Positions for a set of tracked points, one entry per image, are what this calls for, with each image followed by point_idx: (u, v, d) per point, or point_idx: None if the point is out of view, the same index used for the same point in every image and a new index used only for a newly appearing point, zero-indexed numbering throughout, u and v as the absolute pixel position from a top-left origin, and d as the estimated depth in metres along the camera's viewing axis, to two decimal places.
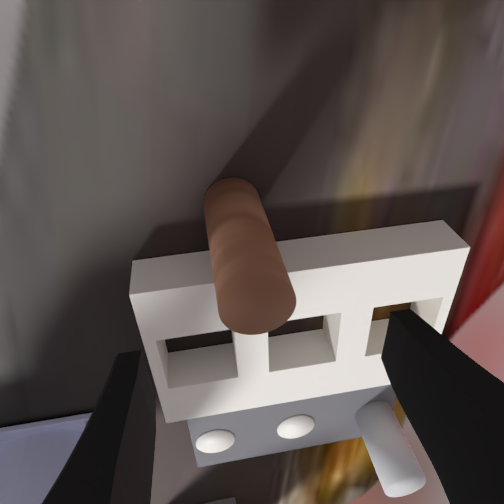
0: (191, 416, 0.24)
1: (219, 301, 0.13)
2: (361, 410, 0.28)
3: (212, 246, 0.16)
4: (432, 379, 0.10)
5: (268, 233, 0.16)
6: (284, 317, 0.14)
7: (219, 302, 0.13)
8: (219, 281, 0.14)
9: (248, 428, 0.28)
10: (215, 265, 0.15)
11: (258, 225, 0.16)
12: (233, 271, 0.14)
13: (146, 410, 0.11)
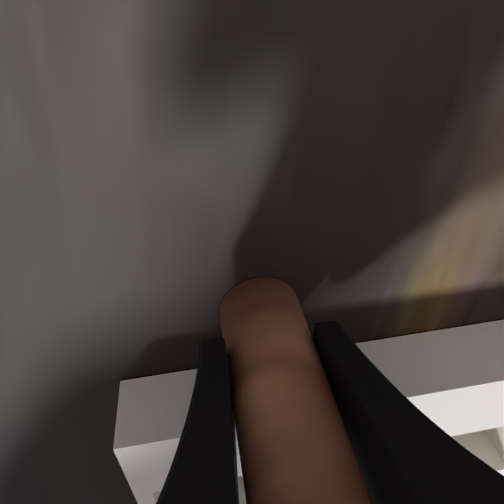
0: None
1: None
2: None
3: (239, 414, 0.10)
4: (344, 394, 0.10)
5: (327, 396, 0.10)
6: None
7: None
8: None
9: None
10: (246, 462, 0.09)
11: (310, 383, 0.10)
12: (281, 502, 0.08)
13: (231, 396, 0.11)
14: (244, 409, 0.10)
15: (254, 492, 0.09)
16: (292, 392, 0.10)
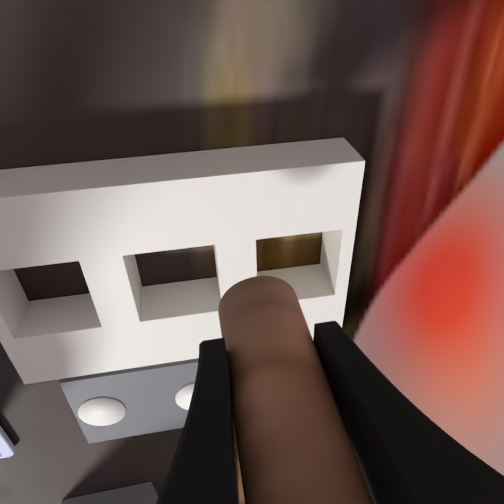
0: (54, 376, 0.20)
1: None
2: None
3: (237, 413, 0.10)
4: (344, 394, 0.10)
5: (326, 394, 0.10)
6: None
7: None
8: None
9: (140, 396, 0.24)
10: (245, 461, 0.09)
11: (310, 382, 0.10)
12: (280, 500, 0.08)
13: None
14: (243, 408, 0.10)
15: (253, 491, 0.09)
16: (291, 391, 0.10)
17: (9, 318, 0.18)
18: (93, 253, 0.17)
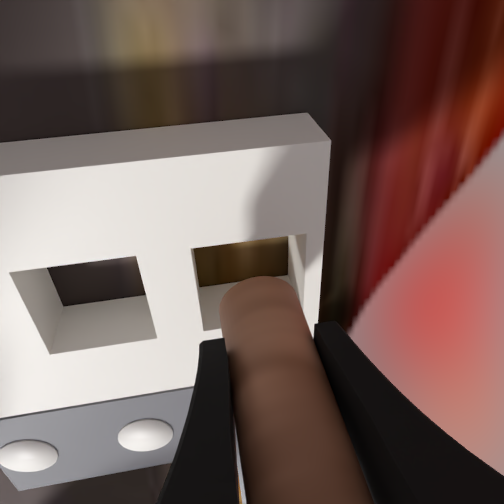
0: None
1: None
2: None
3: (238, 413, 0.10)
4: (344, 394, 0.10)
5: (327, 395, 0.10)
6: None
7: None
8: None
9: (73, 438, 0.20)
10: (246, 461, 0.09)
11: (311, 382, 0.10)
12: (281, 501, 0.08)
13: None
14: (244, 408, 0.10)
15: (254, 491, 0.09)
16: (292, 391, 0.10)
17: None
18: None
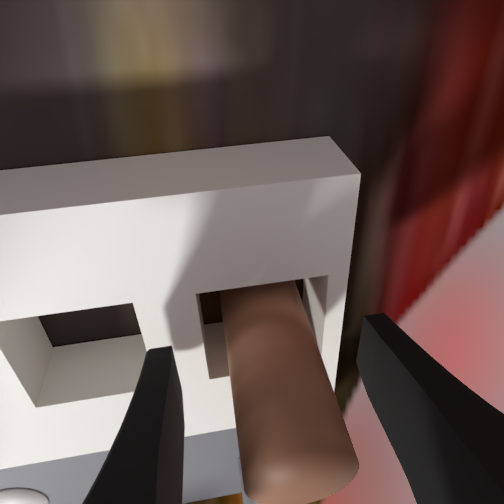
0: None
1: (245, 475, 0.09)
2: None
3: (232, 363, 0.11)
4: (401, 384, 0.10)
5: (311, 347, 0.11)
6: (338, 485, 0.10)
7: (245, 476, 0.09)
8: (245, 437, 0.09)
9: (65, 485, 0.18)
10: (237, 401, 0.10)
11: (297, 335, 0.11)
12: (266, 428, 0.09)
13: (177, 405, 0.11)
14: (237, 358, 0.11)
15: (243, 424, 0.10)
16: (280, 342, 0.11)
17: None
18: None
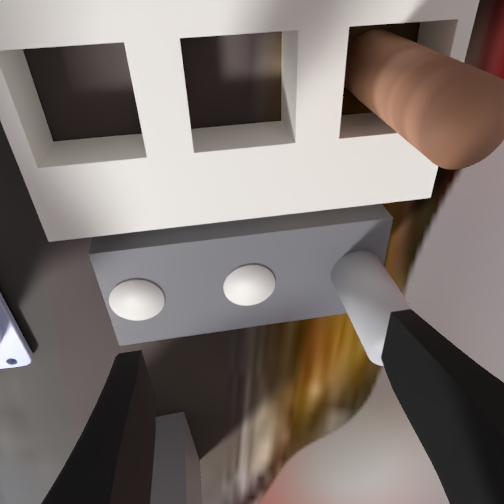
0: (85, 232, 0.17)
1: (428, 113, 0.11)
2: (339, 262, 0.21)
3: (386, 79, 0.13)
4: (432, 379, 0.10)
5: None
6: (492, 145, 0.12)
7: (428, 114, 0.11)
8: (421, 96, 0.12)
9: (182, 281, 0.20)
10: (402, 89, 0.12)
11: (441, 53, 0.13)
12: (443, 78, 0.11)
13: (146, 410, 0.11)
14: (391, 72, 0.13)
15: (415, 93, 0.12)
16: (431, 51, 0.13)
17: (32, 139, 0.15)
18: (143, 30, 0.13)
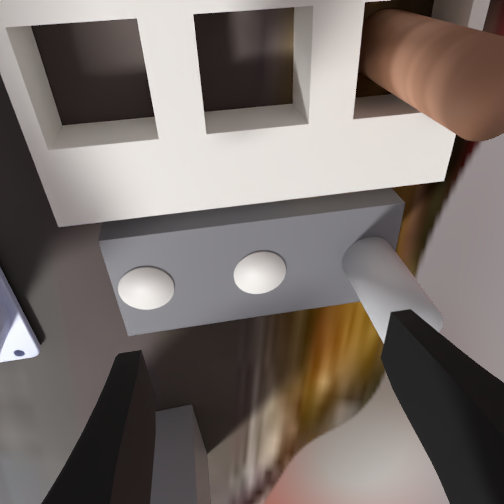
0: (95, 217, 0.16)
1: (453, 81, 0.11)
2: (350, 249, 0.20)
3: (404, 53, 0.13)
4: (432, 379, 0.10)
5: None
6: None
7: (453, 82, 0.11)
8: (444, 65, 0.11)
9: (192, 269, 0.20)
10: (423, 61, 0.12)
11: None
12: (467, 45, 0.11)
13: (146, 410, 0.11)
14: (410, 45, 0.13)
15: (438, 63, 0.12)
16: (450, 24, 0.13)
17: (42, 121, 0.14)
18: (156, 6, 0.13)
